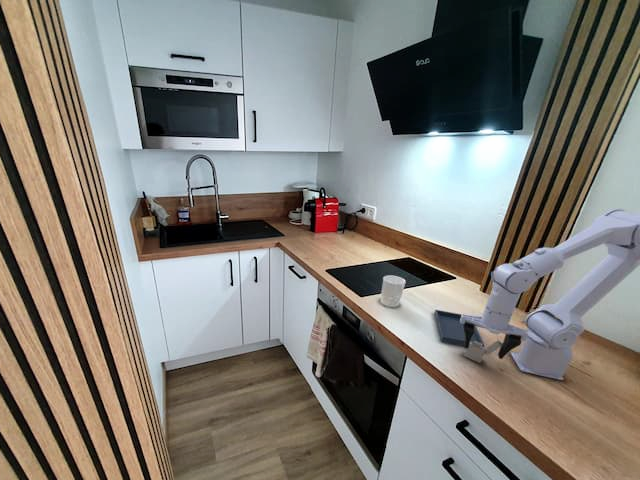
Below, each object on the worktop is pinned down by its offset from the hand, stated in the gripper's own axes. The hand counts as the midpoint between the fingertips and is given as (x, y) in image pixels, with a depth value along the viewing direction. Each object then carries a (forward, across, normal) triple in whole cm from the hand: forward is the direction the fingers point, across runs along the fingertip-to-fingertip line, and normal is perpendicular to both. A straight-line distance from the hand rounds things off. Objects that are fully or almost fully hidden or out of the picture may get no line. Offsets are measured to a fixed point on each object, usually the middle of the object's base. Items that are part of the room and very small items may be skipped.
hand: (482, 351), depth 79 cm
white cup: (+4, -28, +22) cm, 36 cm away
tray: (+4, -6, +14) cm, 16 cm away
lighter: (+4, 0, +1) cm, 4 cm away
